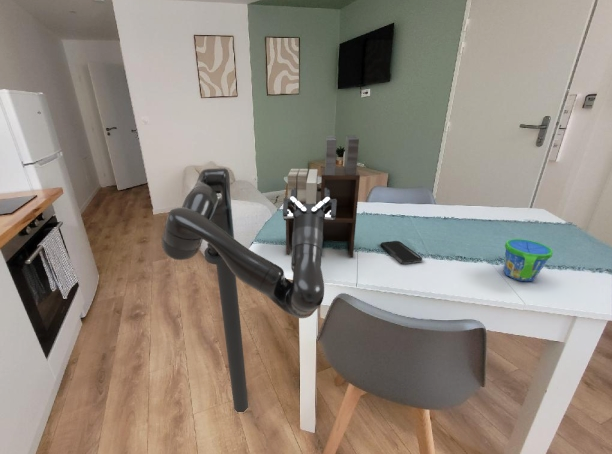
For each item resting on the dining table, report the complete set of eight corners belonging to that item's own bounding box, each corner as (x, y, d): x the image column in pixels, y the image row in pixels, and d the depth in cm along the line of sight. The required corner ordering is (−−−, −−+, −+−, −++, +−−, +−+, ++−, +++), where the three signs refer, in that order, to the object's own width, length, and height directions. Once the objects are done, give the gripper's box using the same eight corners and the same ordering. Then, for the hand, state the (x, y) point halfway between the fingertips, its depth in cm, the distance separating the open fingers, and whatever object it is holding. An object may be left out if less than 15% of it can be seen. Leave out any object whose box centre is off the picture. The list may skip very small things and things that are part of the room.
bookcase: (352, 257, 104) (363, 139, 88) (286, 254, 108) (284, 141, 92) (349, 241, 116) (358, 134, 101) (290, 238, 121) (289, 136, 105)
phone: (398, 240, 112) (423, 259, 98) (398, 243, 113) (423, 261, 99) (379, 242, 111) (402, 261, 98) (379, 245, 112) (401, 264, 98)
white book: (315, 210, 91) (316, 182, 88) (305, 210, 92) (306, 182, 88) (316, 192, 109) (317, 169, 106) (308, 192, 110) (309, 169, 106)
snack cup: (541, 294, 81) (554, 262, 77) (494, 281, 87) (504, 251, 83) (541, 270, 91) (552, 241, 87) (499, 260, 98) (508, 233, 94)
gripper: (280, 243, 77) (286, 198, 86) (335, 245, 74) (335, 198, 84) (278, 226, 71) (284, 179, 80) (337, 228, 68) (337, 180, 78)
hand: (310, 189), depth 82 cm, fingers open, 8 cm apart
